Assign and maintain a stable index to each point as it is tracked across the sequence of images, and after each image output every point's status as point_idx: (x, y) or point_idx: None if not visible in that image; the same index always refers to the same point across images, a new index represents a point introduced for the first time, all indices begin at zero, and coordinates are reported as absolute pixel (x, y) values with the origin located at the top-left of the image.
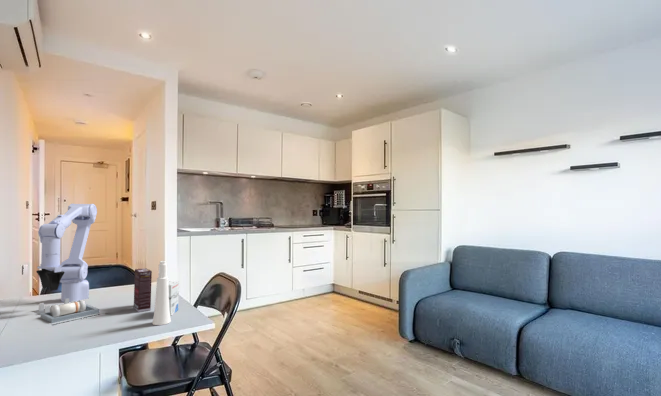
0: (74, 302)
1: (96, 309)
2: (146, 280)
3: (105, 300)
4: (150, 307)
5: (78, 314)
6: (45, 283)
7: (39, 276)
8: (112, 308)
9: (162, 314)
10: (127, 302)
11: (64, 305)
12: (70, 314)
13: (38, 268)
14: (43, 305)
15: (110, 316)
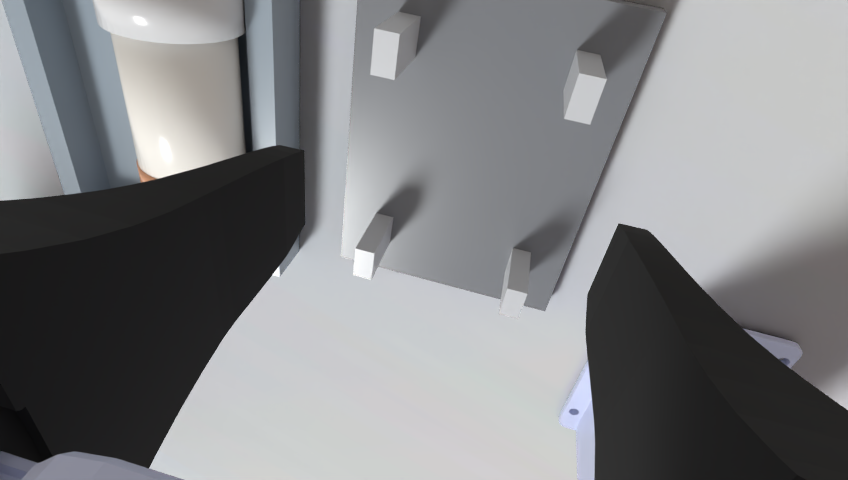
0: (151, 178)
1: None
2: None
3: (452, 431)
4: None
5: (36, 80)
6: (618, 300)
7: (791, 382)
8: None
9: None
10: (283, 416)
11: (126, 84)
12: (28, 30)
13: (83, 457)
14: (564, 103)
15: (21, 196)
